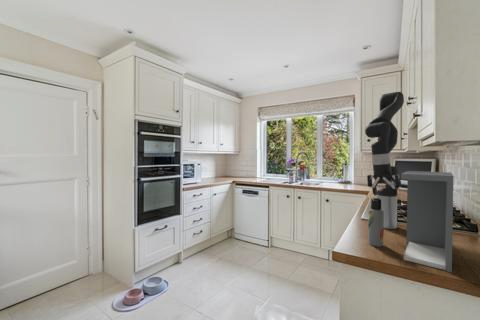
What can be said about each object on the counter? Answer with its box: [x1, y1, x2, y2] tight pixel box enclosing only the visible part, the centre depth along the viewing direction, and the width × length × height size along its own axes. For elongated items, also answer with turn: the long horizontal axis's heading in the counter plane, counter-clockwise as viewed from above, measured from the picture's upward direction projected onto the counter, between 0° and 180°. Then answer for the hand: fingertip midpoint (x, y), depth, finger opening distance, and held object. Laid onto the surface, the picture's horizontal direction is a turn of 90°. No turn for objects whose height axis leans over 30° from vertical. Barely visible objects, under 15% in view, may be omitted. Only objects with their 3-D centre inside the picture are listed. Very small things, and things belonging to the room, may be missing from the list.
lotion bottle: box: [367, 197, 385, 247], centre depth 99 cm, size 6×6×20 cm
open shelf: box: [400, 170, 455, 273], centre depth 88 cm, size 22×14×32 cm, turn 138°
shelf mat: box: [403, 242, 446, 271], centre depth 87 cm, size 19×12×2 cm, turn 138°
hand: (385, 195), depth 112 cm, fingers open, 8 cm apart
